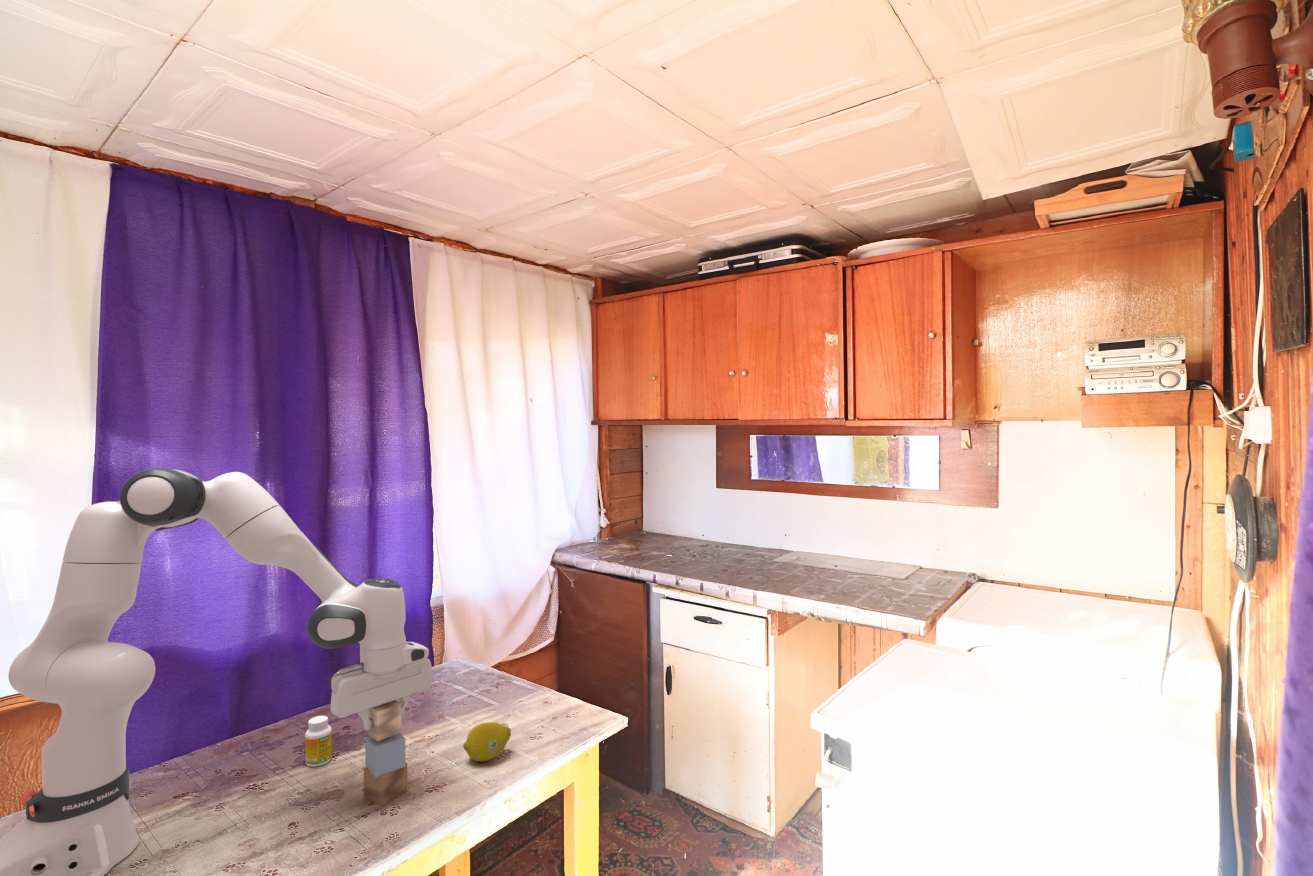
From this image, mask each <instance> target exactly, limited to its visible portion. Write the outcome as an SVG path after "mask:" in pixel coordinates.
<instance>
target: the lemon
mask: <svg viewBox="0 0 1313 876" xmlns="http://www.w3.org/2000/svg"><path fill="white" fill-rule="evenodd" d="M511 736H512V730H511V728H510V727H509V726H507V725H504V724H502V723H499V722H496V721H495V722H494V721H489V722H482V723H479V724H477V725H475V726H474V727H473V728H472V729H470V730H469V733H468V734H467V736H466V740H465V742H464V743H463V746H462V747H463V750H465V751H466V753H467V755H468V757H469V758H470V759H472V761H476V762H479V763H480V762H481V763H482V762H487V761H491V760H493V759H494V758H496V757H497V756H499V755H500V753H502V752H503V750H504V749H505V747H506V746H507V743H508V742H509V740H510V737H511Z"/></svg>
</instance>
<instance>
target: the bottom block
mask: <svg viewBox="0 0 1313 876" xmlns="http://www.w3.org/2000/svg"><path fill="white" fill-rule="evenodd" d="M408 783H409V781H408V762H406V766H405V767H402V768H399V769H397V770H394V771H392V772H389V773H386V774H384V775H381V776H378V777H375V776H374V775H373V774H372V773H371V771H370V770H369V769H368V768H367V767H366V766H365V768H363V798H364V799H366V800H369V801H371V802H373V803H374V804H377V805H379V806H381V807H383V806H385V805H387V804H388V803H390V802H392V801H394V800H396V799H397V798H398V797H401V796H402V795H404V794H406V793H407V792H409V789H408V788H409V787H408V786H409V785H408Z"/></svg>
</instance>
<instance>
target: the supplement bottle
mask: <svg viewBox="0 0 1313 876" xmlns="http://www.w3.org/2000/svg"><path fill="white" fill-rule="evenodd" d="M307 727H308V729H307V730H306V732H305V734H304V735H305V736H304V740H305V741H304V744H305V764H306V766H307V767H311V768H312V767H313V768H315V767H319V766H323V765H325V764H327V763H330V761H331V760H332V758H333V734H332V731H333V730H332V727H331V725H329V717H328V716H327V715H317V716H315V717H311V718H310V719H309V720H308V726H307Z"/></svg>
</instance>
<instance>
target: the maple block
mask: <svg viewBox="0 0 1313 876" xmlns="http://www.w3.org/2000/svg"><path fill="white" fill-rule="evenodd" d="M399 702H400V701H397V699H396V700H393V701H390V702H387V703H384V704H381V705H378V706H376V707H373V708H370V709H369V713H368V714H366V716H367V717H368V718H370V717H371V718H372V719H374V728H372V729H369V730H366V734H367V735H368V736H371V737H373V738H374V739H375V740H377V741H380V740H382V739H385V738H387V737H390V736H393V735H395V734H398V733H402V718H401V703H399Z"/></svg>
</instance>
